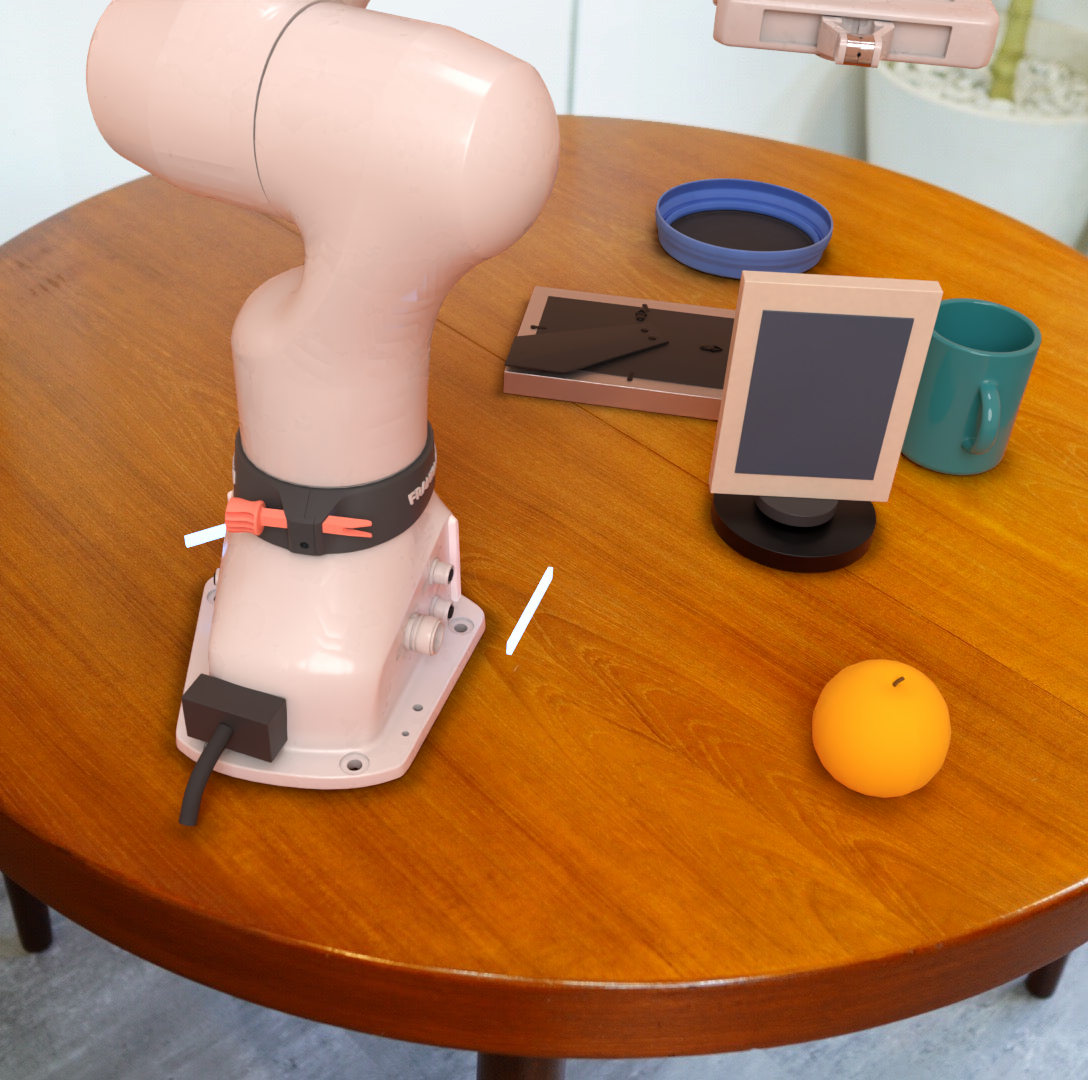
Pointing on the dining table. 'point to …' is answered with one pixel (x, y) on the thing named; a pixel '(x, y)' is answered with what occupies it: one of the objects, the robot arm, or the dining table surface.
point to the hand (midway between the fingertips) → (859, 54)
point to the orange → (881, 728)
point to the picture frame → (621, 353)
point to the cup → (971, 386)
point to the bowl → (742, 227)
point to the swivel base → (794, 535)
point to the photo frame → (819, 390)
